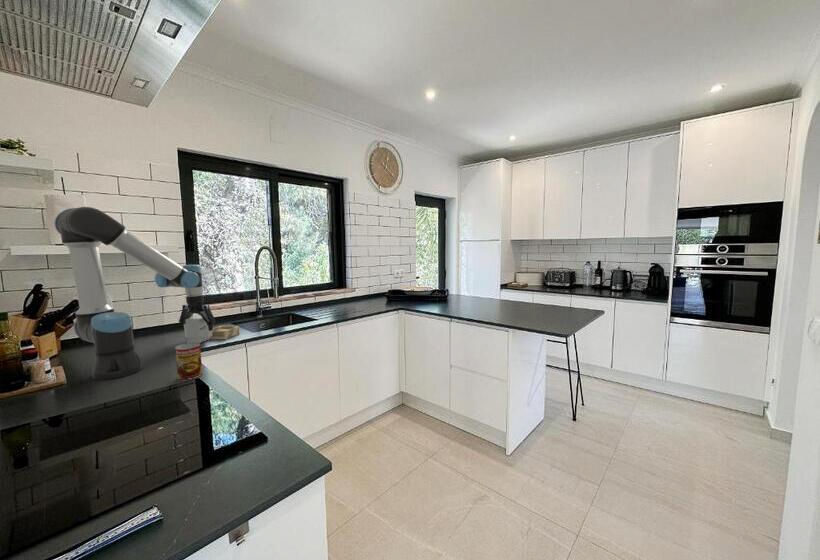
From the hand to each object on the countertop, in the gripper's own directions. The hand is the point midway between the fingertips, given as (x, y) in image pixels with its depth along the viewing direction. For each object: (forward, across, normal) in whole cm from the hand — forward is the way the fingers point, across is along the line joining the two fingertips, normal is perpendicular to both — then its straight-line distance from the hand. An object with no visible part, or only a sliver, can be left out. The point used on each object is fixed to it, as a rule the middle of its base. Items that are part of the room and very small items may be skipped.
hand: (198, 336), depth 175 cm
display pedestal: (+3, -6, -10) cm, 12 cm away
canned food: (+3, -33, +40) cm, 52 cm away
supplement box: (+3, 0, 0) cm, 3 cm away
